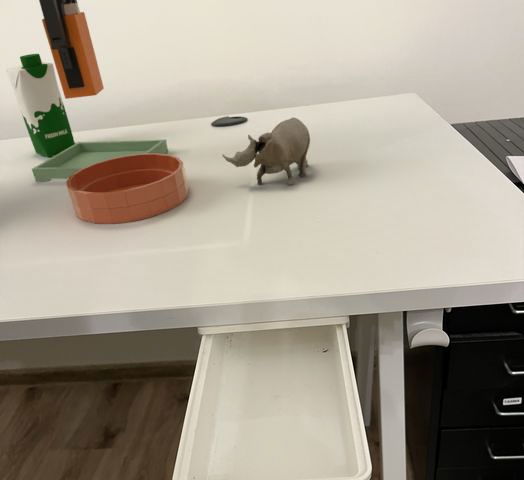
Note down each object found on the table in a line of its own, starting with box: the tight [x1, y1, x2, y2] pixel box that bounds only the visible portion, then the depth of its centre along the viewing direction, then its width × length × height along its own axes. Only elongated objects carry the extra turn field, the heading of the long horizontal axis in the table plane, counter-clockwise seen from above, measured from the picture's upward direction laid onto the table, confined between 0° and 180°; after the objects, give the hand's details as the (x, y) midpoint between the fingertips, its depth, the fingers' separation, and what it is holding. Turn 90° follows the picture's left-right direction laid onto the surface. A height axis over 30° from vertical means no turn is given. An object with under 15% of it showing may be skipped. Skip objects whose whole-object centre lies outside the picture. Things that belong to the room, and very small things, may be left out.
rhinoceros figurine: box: [221, 116, 311, 186], centre depth 94 cm, size 8×14×15 cm
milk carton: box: [5, 53, 76, 159], centre depth 122 cm, size 9×9×20 cm
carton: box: [41, 2, 105, 100], centre depth 102 cm, size 6×6×15 cm
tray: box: [31, 139, 169, 182], centre depth 113 cm, size 22×18×2 cm
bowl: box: [65, 153, 189, 225], centre depth 92 cm, size 19×19×6 cm
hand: (81, 83), depth 105 cm, fingers closed on carton, 6 cm apart
